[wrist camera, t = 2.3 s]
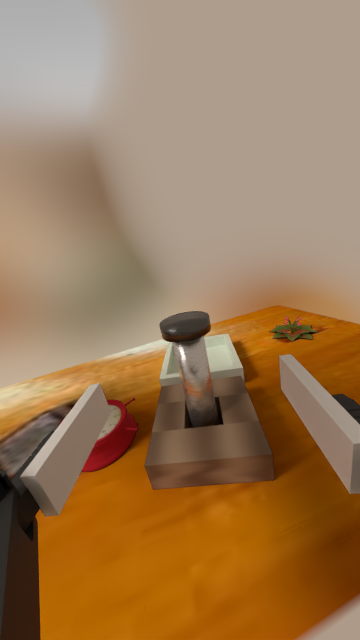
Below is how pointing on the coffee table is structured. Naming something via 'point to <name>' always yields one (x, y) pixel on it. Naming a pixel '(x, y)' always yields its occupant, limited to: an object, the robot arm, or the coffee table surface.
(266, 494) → the coffee table surface
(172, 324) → the steel pin
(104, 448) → the alarm clock
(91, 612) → the coffee table surface
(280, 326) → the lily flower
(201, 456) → the brown square frame
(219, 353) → the sage tray
